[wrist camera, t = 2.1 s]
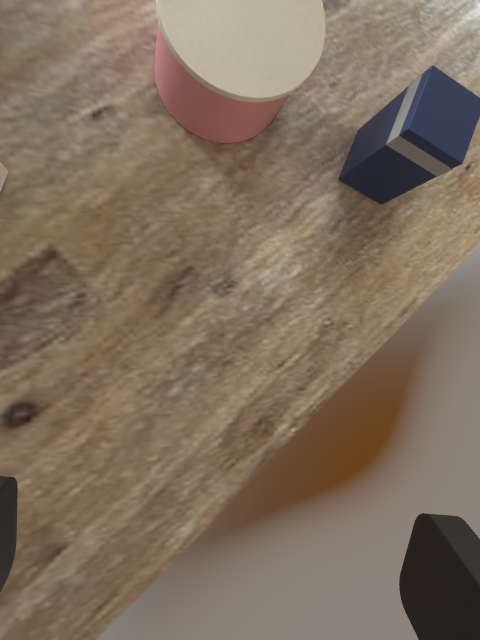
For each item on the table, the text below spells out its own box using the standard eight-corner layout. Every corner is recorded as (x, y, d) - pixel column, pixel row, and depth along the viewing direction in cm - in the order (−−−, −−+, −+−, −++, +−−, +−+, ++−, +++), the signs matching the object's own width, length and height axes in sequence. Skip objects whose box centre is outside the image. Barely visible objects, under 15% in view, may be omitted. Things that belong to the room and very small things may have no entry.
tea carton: (337, 179, 39) (407, 129, 30) (358, 129, 40) (432, 64, 30) (382, 205, 40) (463, 164, 31) (400, 155, 41) (485, 100, 32)
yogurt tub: (135, 9, 35) (139, -83, 27) (271, 9, 38) (308, -73, 30) (164, 154, 35) (176, 103, 27) (296, 142, 38) (340, 93, 31)
